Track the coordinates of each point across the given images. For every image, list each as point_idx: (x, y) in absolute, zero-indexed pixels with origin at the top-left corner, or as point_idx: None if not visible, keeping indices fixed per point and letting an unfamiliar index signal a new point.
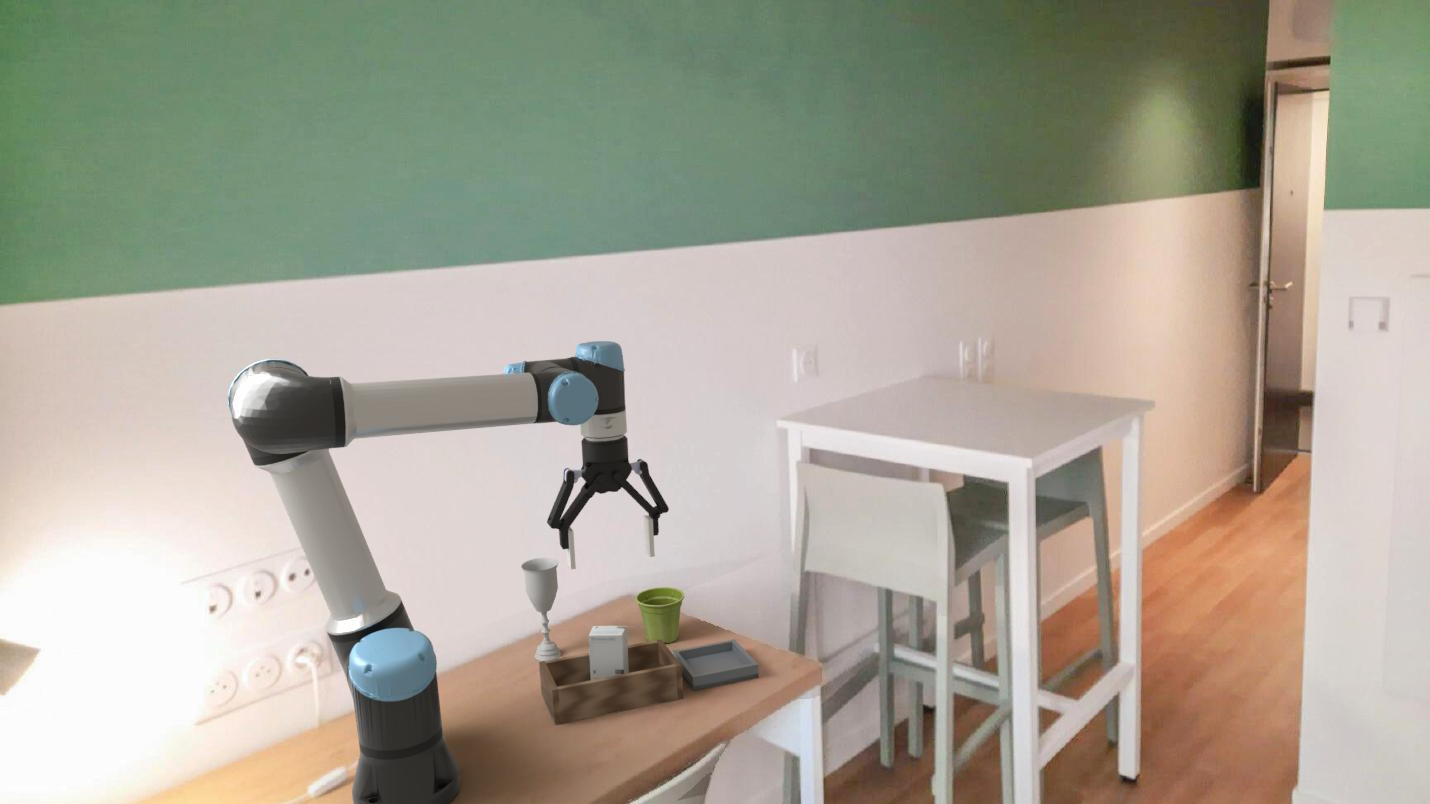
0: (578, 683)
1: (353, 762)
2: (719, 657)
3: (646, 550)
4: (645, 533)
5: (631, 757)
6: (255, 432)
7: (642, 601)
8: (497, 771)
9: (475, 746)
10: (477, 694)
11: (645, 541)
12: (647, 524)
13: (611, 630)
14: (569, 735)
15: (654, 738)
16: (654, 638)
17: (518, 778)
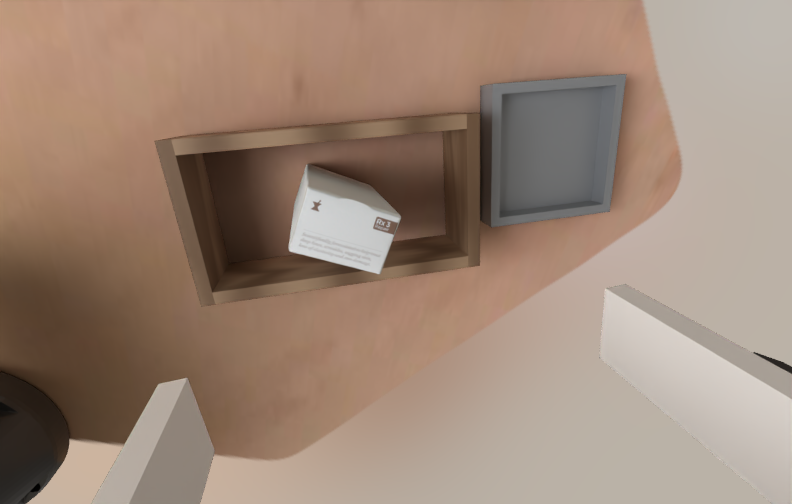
0: (261, 289)
1: None
2: (568, 112)
3: (615, 313)
4: (702, 369)
5: (340, 395)
6: None
7: None
8: (127, 397)
9: (65, 315)
10: (7, 76)
11: (655, 329)
12: (778, 477)
13: (355, 242)
14: (247, 317)
15: (381, 354)
16: None
17: None
